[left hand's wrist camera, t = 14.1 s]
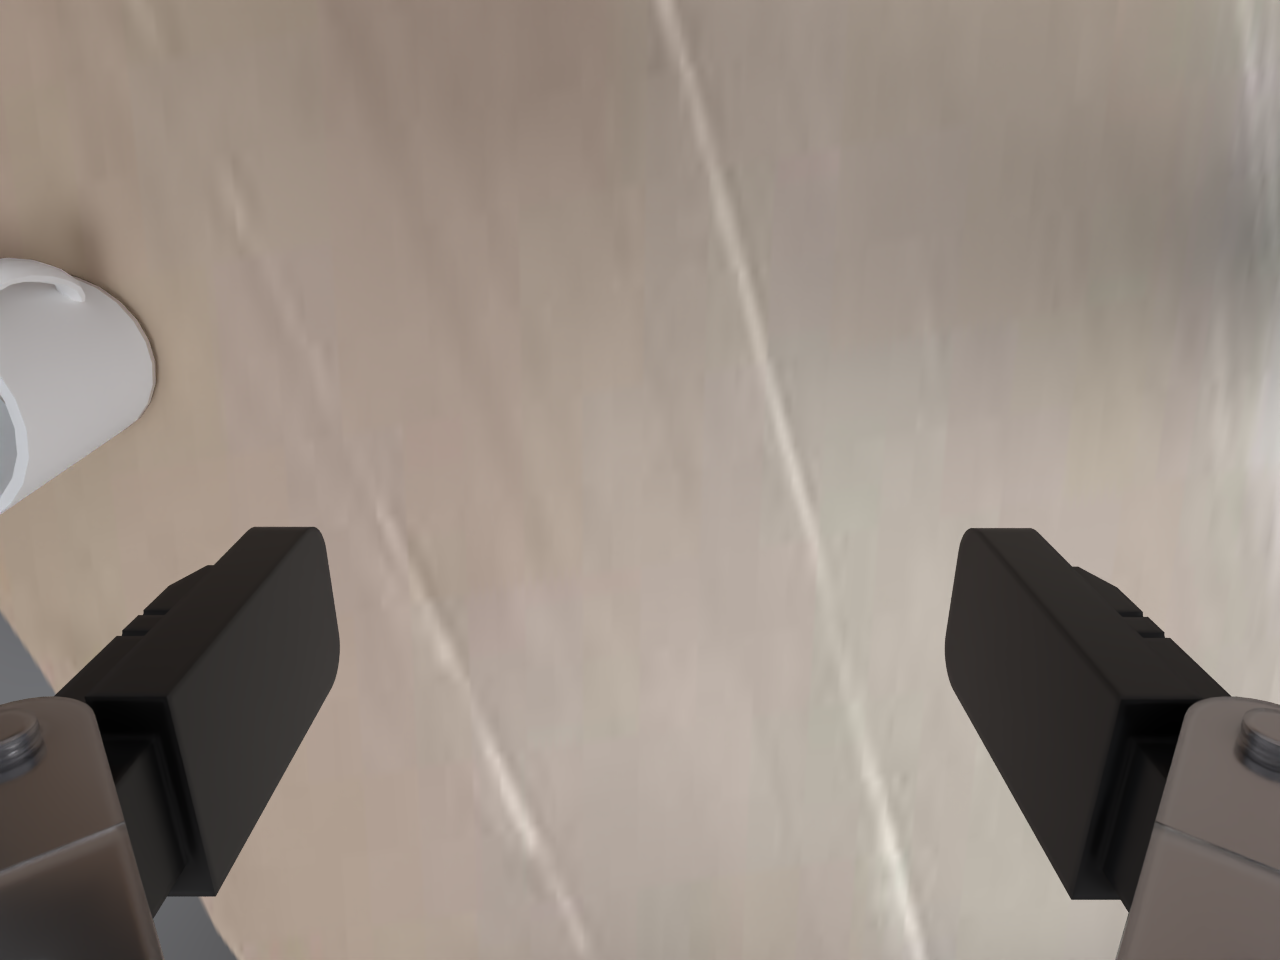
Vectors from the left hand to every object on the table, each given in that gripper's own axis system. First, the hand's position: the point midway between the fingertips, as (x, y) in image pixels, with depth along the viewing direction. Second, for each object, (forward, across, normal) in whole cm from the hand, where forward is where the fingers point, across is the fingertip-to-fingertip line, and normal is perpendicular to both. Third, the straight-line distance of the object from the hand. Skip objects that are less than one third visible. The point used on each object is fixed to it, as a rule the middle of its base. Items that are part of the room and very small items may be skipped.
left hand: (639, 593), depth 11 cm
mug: (+31, +27, +4) cm, 41 cm away
